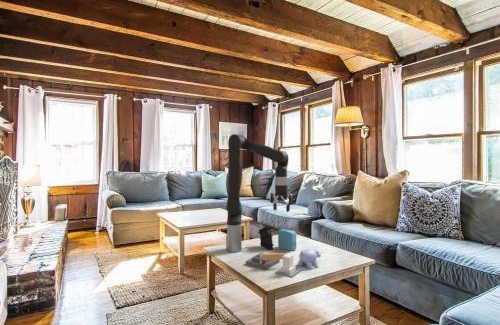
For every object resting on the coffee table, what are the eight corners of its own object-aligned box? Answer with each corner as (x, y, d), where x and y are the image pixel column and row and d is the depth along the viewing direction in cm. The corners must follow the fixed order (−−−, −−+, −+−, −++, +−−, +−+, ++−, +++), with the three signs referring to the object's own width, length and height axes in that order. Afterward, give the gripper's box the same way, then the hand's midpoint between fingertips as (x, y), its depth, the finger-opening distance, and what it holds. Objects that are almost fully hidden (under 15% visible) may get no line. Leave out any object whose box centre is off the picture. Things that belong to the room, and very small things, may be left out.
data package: (296, 249, 189) (296, 231, 189) (292, 251, 186) (292, 232, 186) (282, 245, 198) (282, 228, 197) (278, 247, 195) (277, 229, 194)
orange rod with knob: (259, 259, 160) (259, 254, 160) (283, 258, 162) (283, 252, 162) (259, 260, 159) (259, 255, 159) (284, 259, 160) (284, 253, 160)
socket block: (245, 264, 165) (245, 257, 164) (259, 257, 176) (259, 250, 176) (266, 269, 156) (266, 262, 156) (279, 262, 168) (279, 255, 168)
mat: (275, 273, 152) (275, 271, 152) (284, 267, 160) (284, 265, 160) (292, 277, 146) (292, 276, 146) (301, 271, 154) (301, 269, 154)
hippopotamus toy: (326, 264, 163) (326, 247, 163) (308, 271, 154) (308, 253, 154) (311, 259, 172) (311, 243, 172) (293, 265, 163) (293, 248, 163)
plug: (280, 271, 153) (280, 256, 153) (285, 267, 158) (285, 253, 157) (290, 274, 149) (290, 258, 149) (295, 270, 154) (295, 255, 154)
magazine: (271, 249, 185) (265, 226, 190) (261, 252, 196) (256, 230, 201) (276, 248, 187) (270, 225, 192) (266, 252, 197) (261, 230, 203)
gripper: (267, 184, 176) (268, 210, 176) (288, 185, 168) (289, 213, 168) (274, 183, 182) (274, 208, 182) (294, 184, 174) (294, 211, 174)
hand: (281, 210), depth 175 cm, fingers open, 8 cm apart
